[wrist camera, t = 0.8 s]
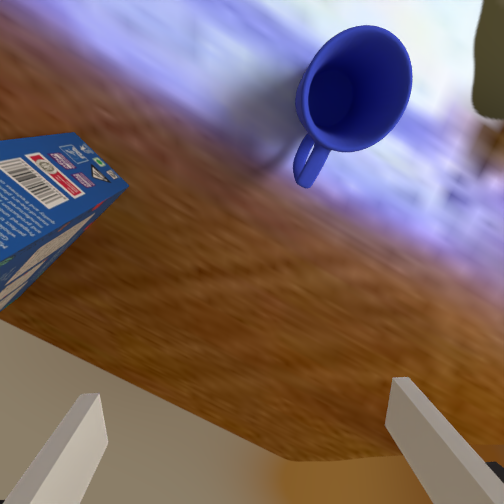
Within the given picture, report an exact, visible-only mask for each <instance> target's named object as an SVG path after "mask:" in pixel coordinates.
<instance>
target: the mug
mask: <svg viewBox="0 0 504 504" xmlns="http://www.w3.org/2000/svg"><path fill="white" fill-rule="evenodd" d="M411 89H412V66H411V61H410V58H409V55H408V53H407V51H406V48H405V47H404V45H403V44H402V42H401V41H400V40H399V39H398V38H397V37H396V36H395V35H394V34H392V33H391V32H389V31H387V30H386V29H383V28H380V27H377V26H370V25H363V26H356V27H352V28H349V29H347V30H344V31H342V32H340V33H339V34H337V35H335V36H334V37H333V38H331V39H330V40H329V41H328V42H326V43H325V44H324V45H323V46H322V48H321V49H320V50H319V51H318V52H317V54H316V55H315V57H314V58H313V60H312V61H311V63H310V65H309V67H308V68H307V70H306V72H305V74H304V75H303V77H302V79H301V81H300V83H299V85H298V88H297V92H296V98H295V106H296V112H297V115H298V118H299V120H300V122H301V123H302V125H303V126H304V128H305V129H306V131H307V132H308V134H307V135H306V136H305V137H304V139H303V141H302V142H301V144H300V146H299V148H298V150H297V153H296V155H295V158H294V162H293V173H294V177H295V181H296V183H297V184H298V185H300V186H301V187H304V188H310V187H311V186H312V184H313V183H314V181H315V179H316V178H317V176H318V174H319V172H320V171H321V169H322V167H323V165H324V163H325V161H326V159H327V157H328V155H329V152H330V151H331V150H334V151H338V152H355V151H359V150H363V149H366V148H368V147H370V146H372V145H374V144H376V143H377V142H379V141H380V140H381V139H383V138H384V137H385V136H386V135H387V134H388V133H389V132H390V131H391V130H392V129H393V128H394V127H395V125H396V124H397V123H398V121H399V120H400V118H401V117H402V115H403V113H404V111H405V109H406V106H407V104H408V101H409V98H410V94H411ZM313 144H314V148H313V151H312V153H311V154H310V156H309V158H308V160H307V162H306V159H307V156H308V154H309V152H310V150H311V148H312V146H313ZM305 162H306V164H305Z"/></svg>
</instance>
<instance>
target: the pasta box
mask: <svg viewBox="0 0 504 504" xmlns="http://www.w3.org/2000/svg"><path fill="white" fill-rule="evenodd" d="M128 187H129V185H128V184H127V183H126V182H125V181H124V180H123V179H122V178H121V177H120V176H119V175H118V174H117V173H116V172H115V171H114V170H113V169H112V168H111V167H110V166H109V165H107V164H106V163H105V162H104V161H103V160H102V159H101V158H100V157H99V156H98V155H97V154H96V153H95V152H94V151H93V150H92V149H91V148H90V147H89V146H88V145H87V144H86V143H85V142H84V141H83V140H82V139H81V138H80V137H79V136H78V135H77V134H75V133H74V132H72V133H63V134H54V135H46V136H37V137H28V138H20V139H11V140H3V141H0V312H1V311H2V310H3V309H4V308H6V307H7V306H8V305H10V304H11V303H12V302H13V301H15V300H16V299H17V298H18V297H20V296H21V295H22V294H23V293H24V292H25V291H26V290H27V288H28V287H29V286H30V285H31V284H32V283H33V282H34V281H35V280H36V279H37V278H38V277H39V276H40V275H41V274H42V273H43V272H44V271H45V270H46V269H47V268H48V267H49V266H50V265H51V264H52V263H53V262H54V261H55V260H56V259H57V258H58V257H59V256H60V255H61V254H62V253H63V252H64V251H65V250H66V249H67V248H68V247H69V246H70V245H71V244H72V243H73V242H74V241H75V240H76V239H77V238H78V237H79V236H80V235H81V234H82V233H83V232H84V231H85V230H86V229H87V228H88V227H89V226H90V225H91V224H92V223H93V222H94V221H95V220H96V219H97V218H98V217H99V216H100V215H101V214H102V213H103V212H104V211H105V210H106V209H107V208H108V207H109V206H110V205H111V204H112V203H113V202H114V201H115V200H116V199H117V198H118V197H119V196H120V195H121V194H122V193H123V192H124V191H125V190H126V189H127V188H128Z"/></svg>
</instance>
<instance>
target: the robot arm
mask: <svg viewBox="0 0 504 504" xmlns="http://www.w3.org/2000/svg"><path fill="white" fill-rule="evenodd" d="M385 426H386V428H387V429H388V431H389V433H390V434H391V436H392V437H393V439H394V441H395V442H396V444H397V446H398V447H399V449H400V450H401V452H402V454H403V455H404V457H405V458H406V460H407V462H408V463H409V465H410V466H411V468H412V470H413V471H414V473H415V474H416V476H417V478H418V479H419V481H420V482H421V484H422V486H423V487H424V489H425V491H426V492H427V494H428V495H429V497H430V498H431V500H432V502H433V503H434V504H504V468H503V467H502V466H501V465H499V464H498V463H497V462H484V461H483V460H482V459H481V458H480V457H479V455H478V454H477V453H476V452H475V451H474V450H473V449H472V448H471V446H470V445H469V444H468V443H467V442H466V441H465V440H464V439H463V437H462V436H461V435H460V434H459V433H458V432H457V431H456V430H455V429H454V427H453V426H452V425H451V424H450V423H449V422H448V421H447V420H446V419H445V417H444V416H443V415H442V414H441V413H440V412H439V411H438V410H437V408H436V407H435V406H434V405H433V404H432V403H431V402H430V401H429V400H428V398H427V397H426V396H425V395H424V394H423V393H422V392H421V391H420V389H419V388H418V387H417V386H416V385H415V384H414V383H413V382H412V381H411V379H410V378H409V377H401V378H393V379H392V385H391V391H390V397H389V403H388V409H387V416H386V422H385ZM107 445H108V438H107V433H106V427H105V422H104V417H103V411H102V405H101V400H100V394H99V393H93V394H81V395H80V396H79V397H78V399H77V400H76V402H75V403H74V404H73V406H72V407H71V409H70V410H69V411H68V413H67V414H66V416H65V417H64V418H63V420H62V421H61V423H60V424H59V426H58V427H57V428H56V430H55V431H54V432H53V434H52V435H51V437H50V438H49V439H48V441H47V442H46V444H45V445H44V446H43V448H42V449H41V451H40V452H39V454H38V455H37V456H36V458H35V459H34V460H33V462H32V463H31V465H30V466H29V467H28V469H27V470H26V472H25V473H24V475H23V476H22V478H21V479H20V480H19V482H18V483H17V484H16V486H15V487H14V489H13V490H12V491H11V493H10V494H9V496H8V497H7V498H6V500H0V504H80V502H81V500H82V497H83V495H84V493H85V491H86V489H87V486H88V485H89V483H90V481H91V478H92V476H93V474H94V472H95V470H96V468H97V465H98V464H99V461H100V460H101V457H102V455H103V453H104V451H105V449H106V447H107Z"/></svg>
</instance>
